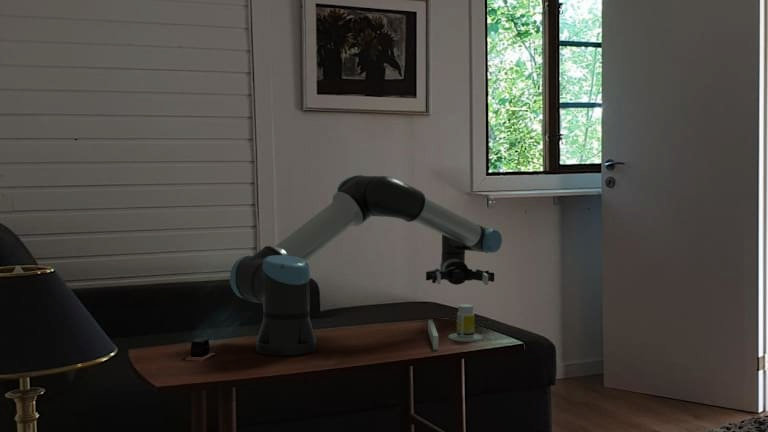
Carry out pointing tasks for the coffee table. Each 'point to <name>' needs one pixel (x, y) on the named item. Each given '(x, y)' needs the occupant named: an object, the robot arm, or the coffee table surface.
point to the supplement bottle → (465, 321)
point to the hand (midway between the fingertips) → (463, 279)
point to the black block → (199, 347)
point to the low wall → (433, 334)
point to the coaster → (464, 339)
